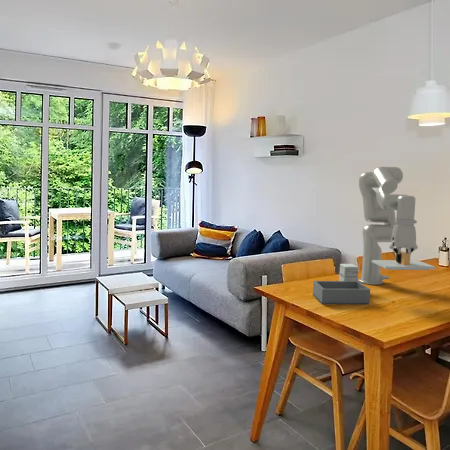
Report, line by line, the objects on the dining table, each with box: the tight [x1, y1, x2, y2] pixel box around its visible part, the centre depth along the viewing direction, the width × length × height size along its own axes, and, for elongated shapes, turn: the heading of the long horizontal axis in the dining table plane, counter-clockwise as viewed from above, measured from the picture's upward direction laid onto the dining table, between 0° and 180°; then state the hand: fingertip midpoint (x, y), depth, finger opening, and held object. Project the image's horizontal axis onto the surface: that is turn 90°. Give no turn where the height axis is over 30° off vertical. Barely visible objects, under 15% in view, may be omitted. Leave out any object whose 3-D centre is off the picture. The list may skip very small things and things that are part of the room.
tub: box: [312, 280, 371, 305], centre depth 208 cm, size 22×15×7 cm
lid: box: [372, 250, 436, 271], centre depth 204 cm, size 23×16×7 cm
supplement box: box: [338, 263, 360, 281], centre depth 226 cm, size 7×7×13 cm
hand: (402, 262), depth 204 cm, fingers closed on lid, 3 cm apart
